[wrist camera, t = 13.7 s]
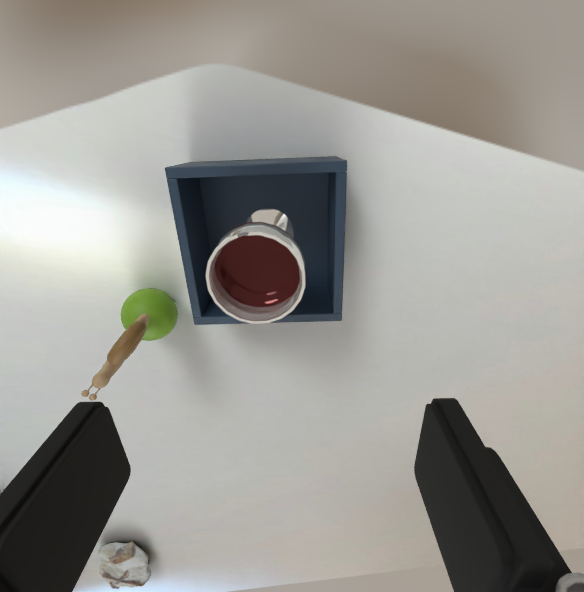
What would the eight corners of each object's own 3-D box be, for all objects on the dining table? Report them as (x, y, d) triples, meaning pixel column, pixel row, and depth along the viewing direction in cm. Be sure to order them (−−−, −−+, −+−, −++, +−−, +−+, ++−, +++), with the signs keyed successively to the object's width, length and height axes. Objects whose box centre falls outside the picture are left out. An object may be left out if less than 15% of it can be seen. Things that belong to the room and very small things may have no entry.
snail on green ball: (123, 313, 37) (53, 384, 27) (148, 271, 35) (82, 329, 24) (166, 337, 39) (116, 414, 28) (192, 298, 36) (149, 365, 26)
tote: (189, 162, 30) (164, 167, 24) (336, 156, 30) (347, 160, 24) (210, 294, 36) (194, 325, 30) (334, 290, 36) (341, 321, 30)
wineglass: (272, 278, 35) (262, 341, 24) (221, 235, 33) (184, 283, 22) (317, 231, 32) (328, 277, 22) (264, 183, 31) (248, 207, 20)
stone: (156, 575, 62) (149, 597, 59) (106, 571, 61) (97, 594, 58) (151, 538, 56) (143, 560, 53) (97, 534, 56) (86, 556, 53)
